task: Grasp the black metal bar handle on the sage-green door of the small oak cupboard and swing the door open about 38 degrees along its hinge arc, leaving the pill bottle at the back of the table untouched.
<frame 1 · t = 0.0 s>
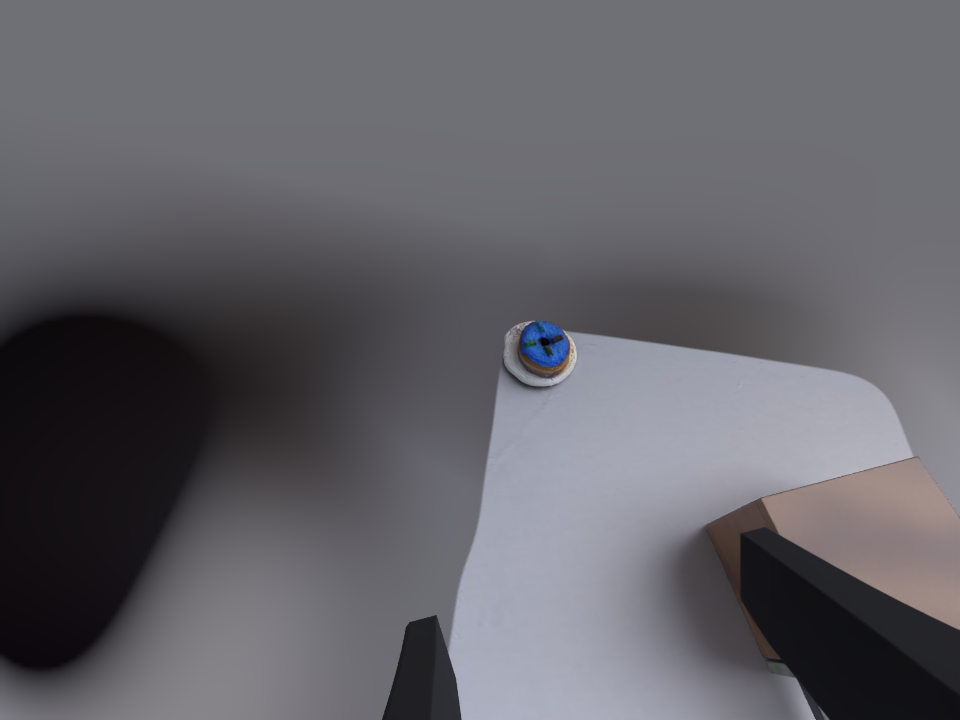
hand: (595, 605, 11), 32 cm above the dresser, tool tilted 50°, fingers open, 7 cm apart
door: (909, 694, 32), point 5 cm above the dresser, hinge at 0.0°
dessert: (553, 357, 52), on the dresser
cupboard: (798, 569, 40), on the dresser
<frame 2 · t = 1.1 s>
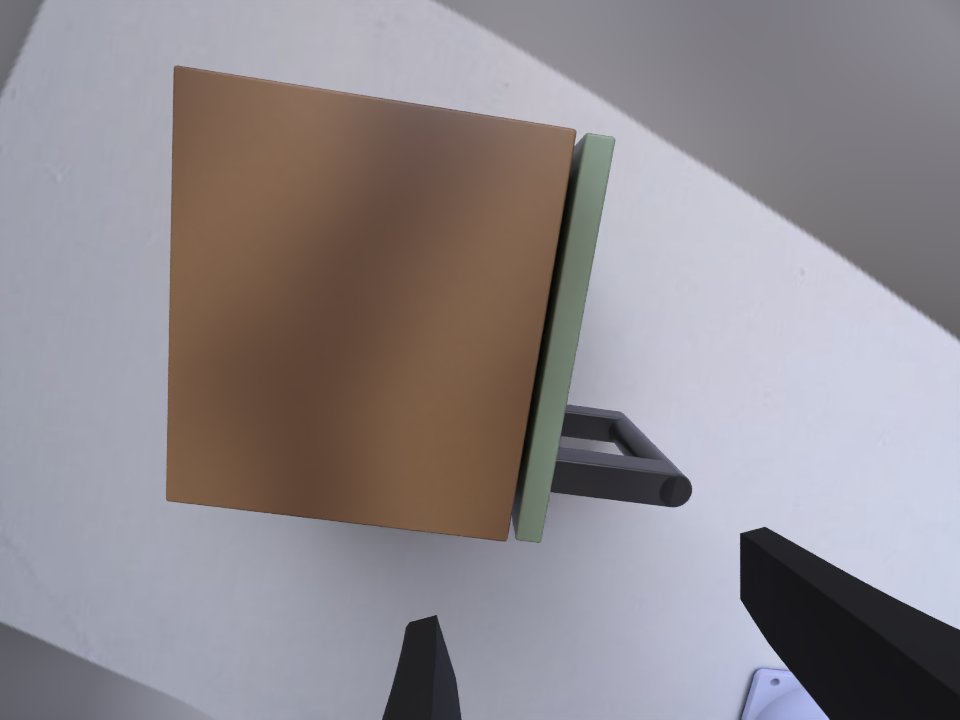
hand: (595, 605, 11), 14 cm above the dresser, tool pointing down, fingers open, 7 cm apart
door: (602, 338, 19), point 5 cm above the dresser, hinge at 0.0°
cupboard: (407, 297, 24), on the dresser
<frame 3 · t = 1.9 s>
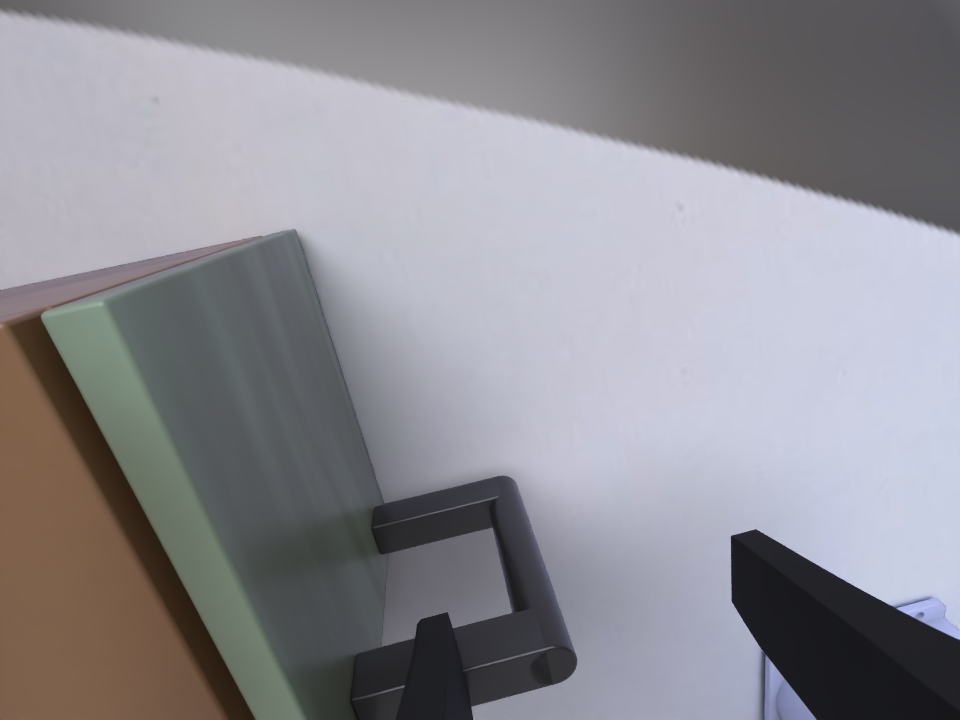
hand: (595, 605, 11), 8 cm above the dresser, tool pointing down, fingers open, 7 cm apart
door: (406, 452, 13), point 5 cm above the dresser, hinge at 0.1°, touching gripper
cupboard: (179, 430, 17), on the dresser
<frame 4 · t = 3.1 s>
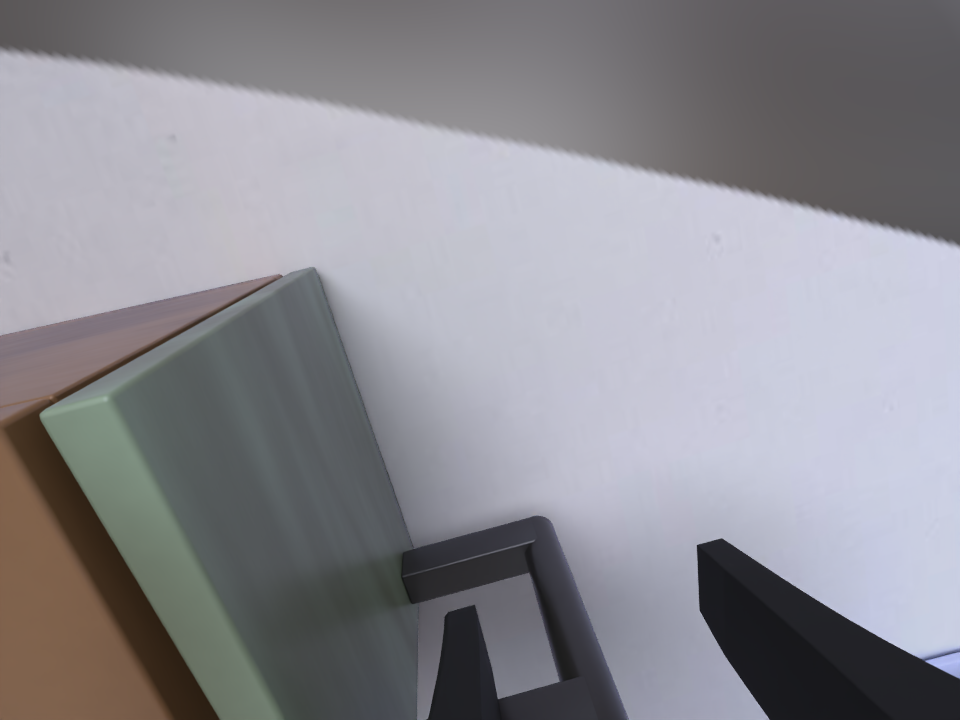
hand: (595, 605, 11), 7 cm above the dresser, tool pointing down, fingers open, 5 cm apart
door: (438, 505, 12), point 5 cm above the dresser, hinge at 1.8°, touching gripper
cupboard: (193, 473, 17), on the dresser
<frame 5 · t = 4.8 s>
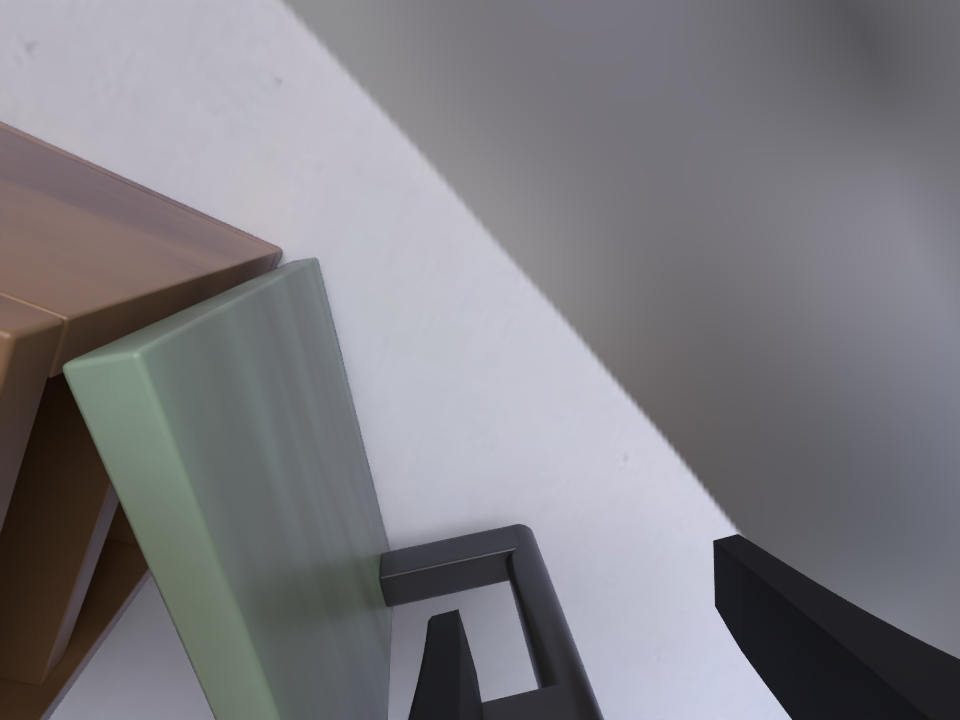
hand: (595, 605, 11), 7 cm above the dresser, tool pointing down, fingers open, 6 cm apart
door: (429, 503, 12), point 5 cm above the dresser, hinge at 34.9°, touching gripper
cupboard: (49, 353, 15), on the dresser
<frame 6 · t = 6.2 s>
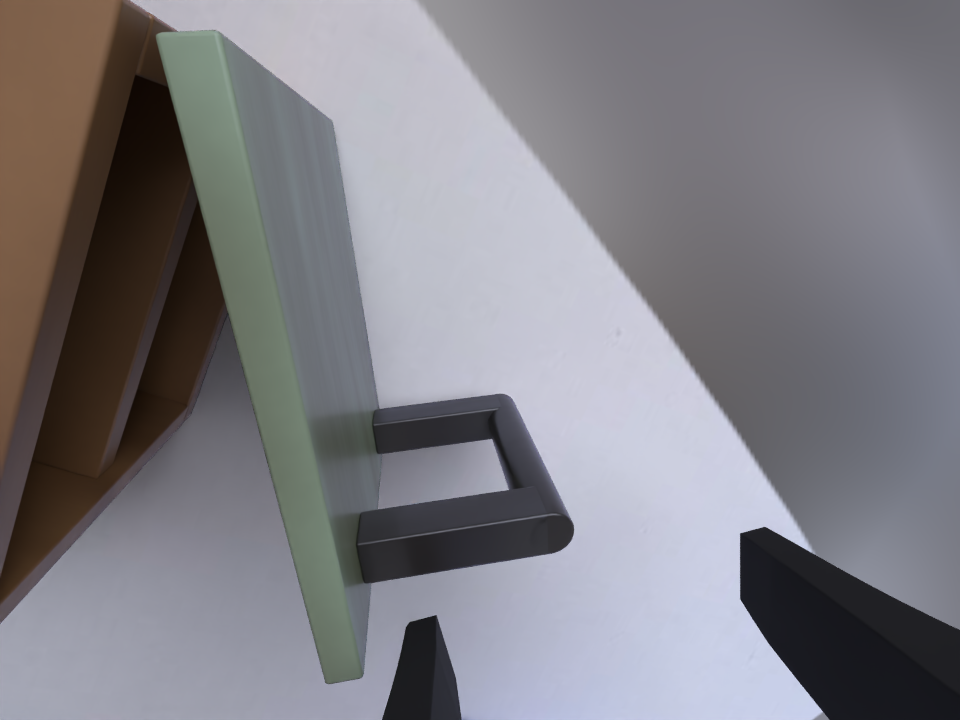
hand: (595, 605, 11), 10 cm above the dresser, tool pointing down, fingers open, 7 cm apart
door: (426, 331, 13), point 5 cm above the dresser, hinge at 30.9°
cupboard: (82, 208, 16), on the dresser
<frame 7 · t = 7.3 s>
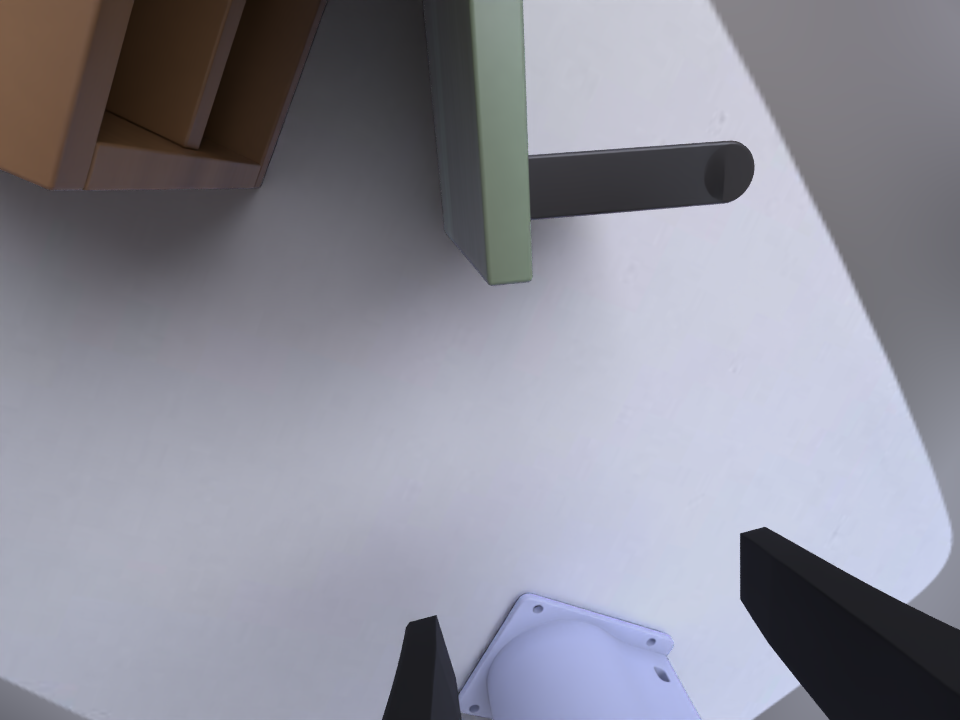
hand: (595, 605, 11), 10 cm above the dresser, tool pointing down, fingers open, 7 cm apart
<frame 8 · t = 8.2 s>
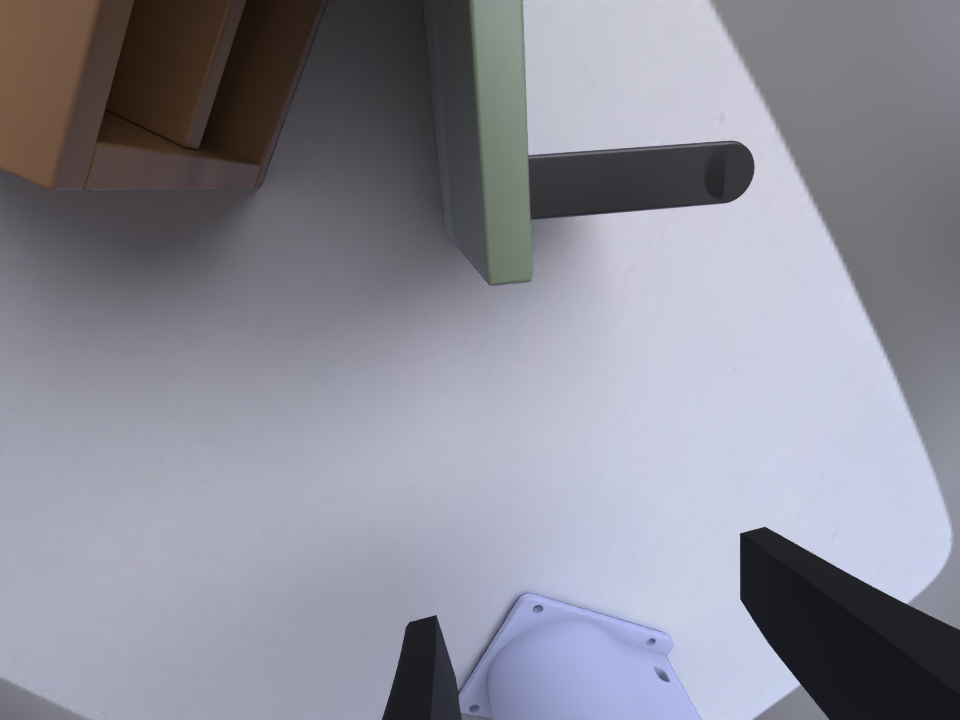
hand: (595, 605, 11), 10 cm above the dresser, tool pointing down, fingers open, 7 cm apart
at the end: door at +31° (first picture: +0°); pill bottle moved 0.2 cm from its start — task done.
